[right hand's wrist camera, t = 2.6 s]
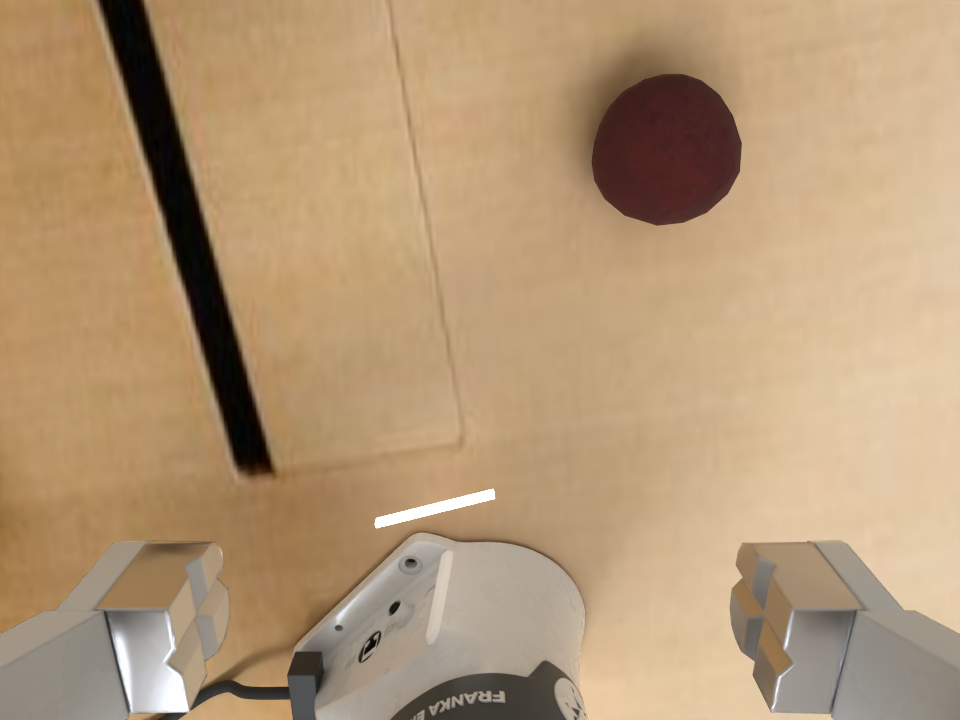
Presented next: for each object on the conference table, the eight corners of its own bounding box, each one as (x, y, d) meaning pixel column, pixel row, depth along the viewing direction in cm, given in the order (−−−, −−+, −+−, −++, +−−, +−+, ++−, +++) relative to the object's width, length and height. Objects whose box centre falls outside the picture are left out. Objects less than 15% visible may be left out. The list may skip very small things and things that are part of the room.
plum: (667, 48, 36) (709, 35, 30) (738, 166, 39) (791, 178, 32) (556, 135, 38) (572, 140, 31) (630, 243, 40) (660, 269, 34)
